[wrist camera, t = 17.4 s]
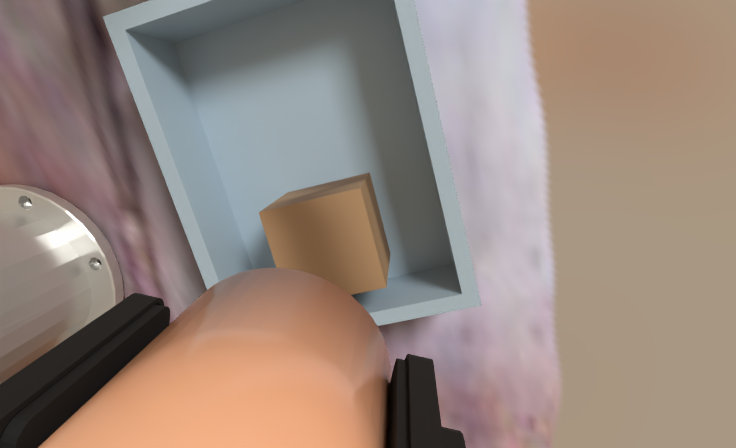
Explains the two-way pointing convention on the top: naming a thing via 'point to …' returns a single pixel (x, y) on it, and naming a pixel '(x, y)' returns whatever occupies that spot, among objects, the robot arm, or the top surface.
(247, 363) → the terracotta egg
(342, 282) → the walnut cube
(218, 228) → the box
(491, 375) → the top surface
